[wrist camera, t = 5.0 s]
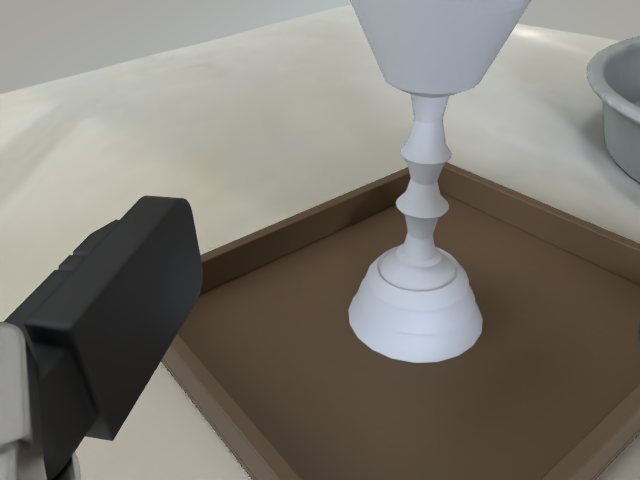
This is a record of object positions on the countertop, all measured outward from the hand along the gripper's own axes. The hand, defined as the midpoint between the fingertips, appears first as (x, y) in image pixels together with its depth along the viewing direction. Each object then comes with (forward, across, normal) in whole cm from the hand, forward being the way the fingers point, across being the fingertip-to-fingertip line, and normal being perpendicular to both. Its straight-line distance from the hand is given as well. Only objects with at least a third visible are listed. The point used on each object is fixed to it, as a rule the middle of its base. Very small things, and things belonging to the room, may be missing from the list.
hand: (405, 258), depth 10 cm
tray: (+8, 0, +9) cm, 12 cm away
